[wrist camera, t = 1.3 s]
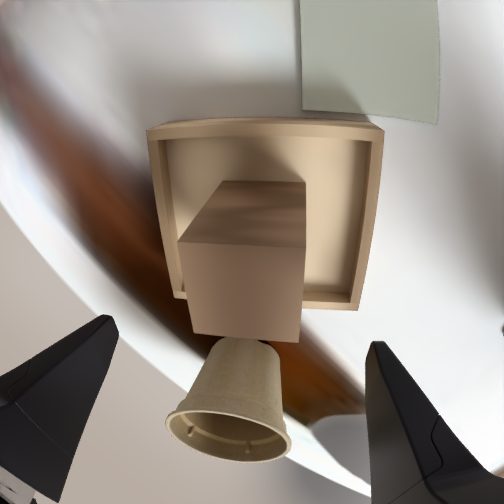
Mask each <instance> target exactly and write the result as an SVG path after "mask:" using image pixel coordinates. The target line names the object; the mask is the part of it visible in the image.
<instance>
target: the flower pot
mask: <svg viewBox="0 0 504 504" xmlns="http://www.w3.org/2000/svg"><path fill="white" fill-rule="evenodd" d="M165 425H166V429H167V430H168V432H169V433H170V434H171V436H173V437H174V438H175V439H176V440H177V441H179V442H180V443H181V444H183V445H185V446H186V447H188V448H190V449H193V450H194V451H197V452H199V453H202V454H204V455H207V456H210V457H214V458H217V459H221V460H226V461H233V462H240V463H258V462H259V463H260V462H268V461H272V460H276V459H279V458H281V457H283V456H285V455H286V454H287V453H288V452H289V451H290V449H291V439H290V437H289V436H288V434H287V433H286V424H285V422H284V420H283V414H282V397H281V378H280V359H279V356H278V354H277V352H276V351H275V350H274V348H272V347H271V346H270V345H268V344H264V343H261V342H260V341H258V340H256V339H245V338H235V337H225V338H222V339H220V340H219V341H218V342H217V343H216V344H215V345H214V346H213V347H212V349H211V351H210V353H209V355H208V357H207V359H206V361H205V363H204V365H203V367H202V368H201V370H200V372H199V374H198V376H197V378H196V380H195V382H194V383H193V385H192V387H191V389H190V391H189V393H188V394H187V396H186V398H185V399H184V400H183V401H181V402H180V404H179V405H178V407H177V409H176V410H175V411H173V412H171V413H170V414H169V415H168V417H167V419H166V421H165Z"/></svg>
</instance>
